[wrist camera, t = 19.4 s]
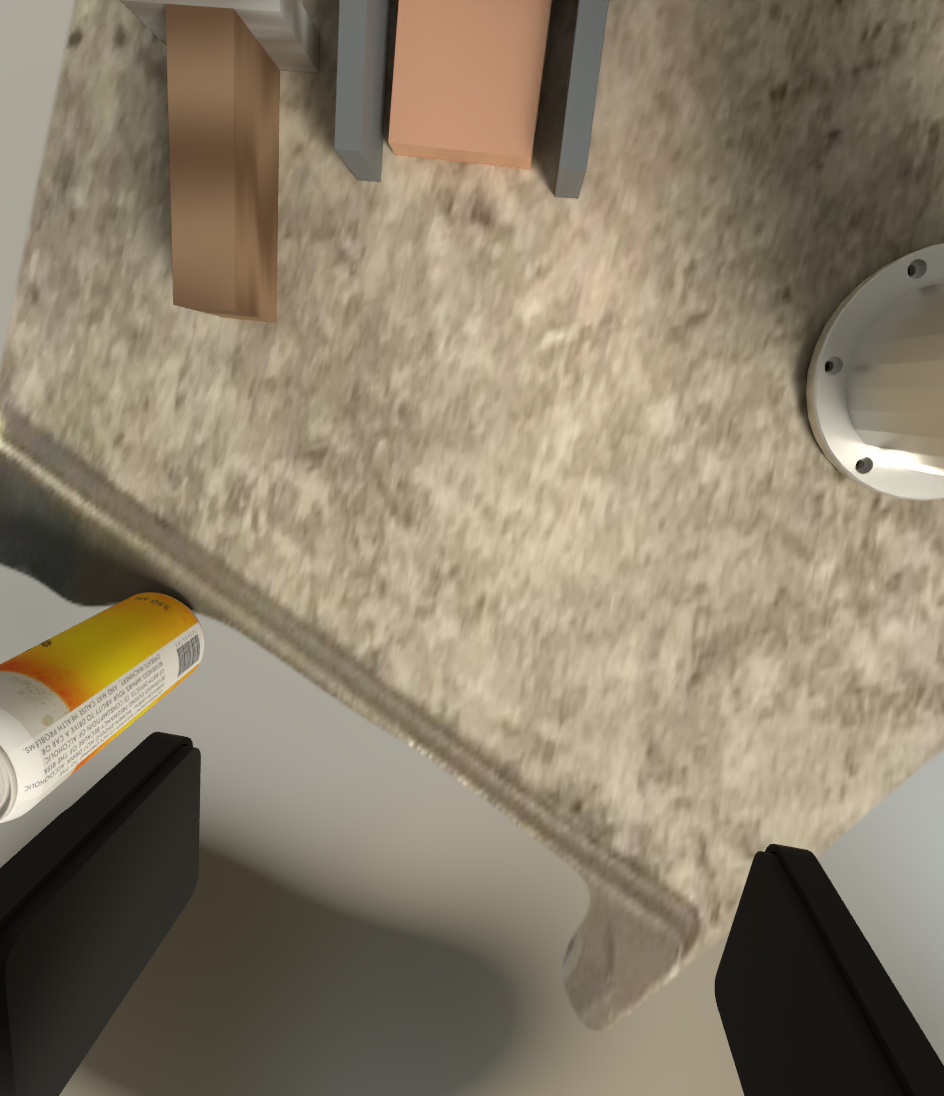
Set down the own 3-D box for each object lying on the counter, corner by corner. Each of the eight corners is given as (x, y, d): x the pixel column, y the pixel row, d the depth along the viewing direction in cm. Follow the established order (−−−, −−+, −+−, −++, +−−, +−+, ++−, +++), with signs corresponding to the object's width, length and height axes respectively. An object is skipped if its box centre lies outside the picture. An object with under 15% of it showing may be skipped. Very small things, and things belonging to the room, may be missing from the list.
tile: (551, 10, 29) (553, -18, 27) (530, 172, 31) (531, 157, 29) (409, -3, 29) (401, -32, 27) (396, 158, 31) (388, 142, 29)
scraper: (311, 326, 33) (275, 314, 28) (189, 314, 33) (133, 300, 28) (319, 35, 29) (280, -35, 25) (183, 25, 30) (118, -46, 25)
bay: (634, -34, 28) (652, -104, 24) (601, 200, 30) (613, 172, 26) (343, -53, 28) (315, -123, 25) (335, 178, 31) (308, 147, 27)
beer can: (112, 588, 38) (-142, 709, 23) (203, 587, 37) (1, 709, 23) (129, 676, 39) (-98, 839, 25) (217, 675, 39) (37, 842, 24)
